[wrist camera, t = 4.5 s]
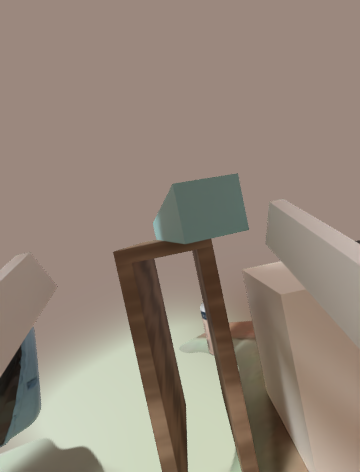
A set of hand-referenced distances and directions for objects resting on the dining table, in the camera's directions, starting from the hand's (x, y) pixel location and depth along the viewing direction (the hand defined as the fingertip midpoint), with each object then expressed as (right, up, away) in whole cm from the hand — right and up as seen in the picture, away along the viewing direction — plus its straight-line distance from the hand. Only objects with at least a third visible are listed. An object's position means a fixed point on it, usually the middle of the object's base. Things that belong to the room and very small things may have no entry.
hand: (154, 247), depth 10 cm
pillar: (+21, -26, +15) cm, 37 cm away
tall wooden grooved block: (+6, -29, +15) cm, 33 cm away
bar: (+1, 0, +11) cm, 11 cm away
